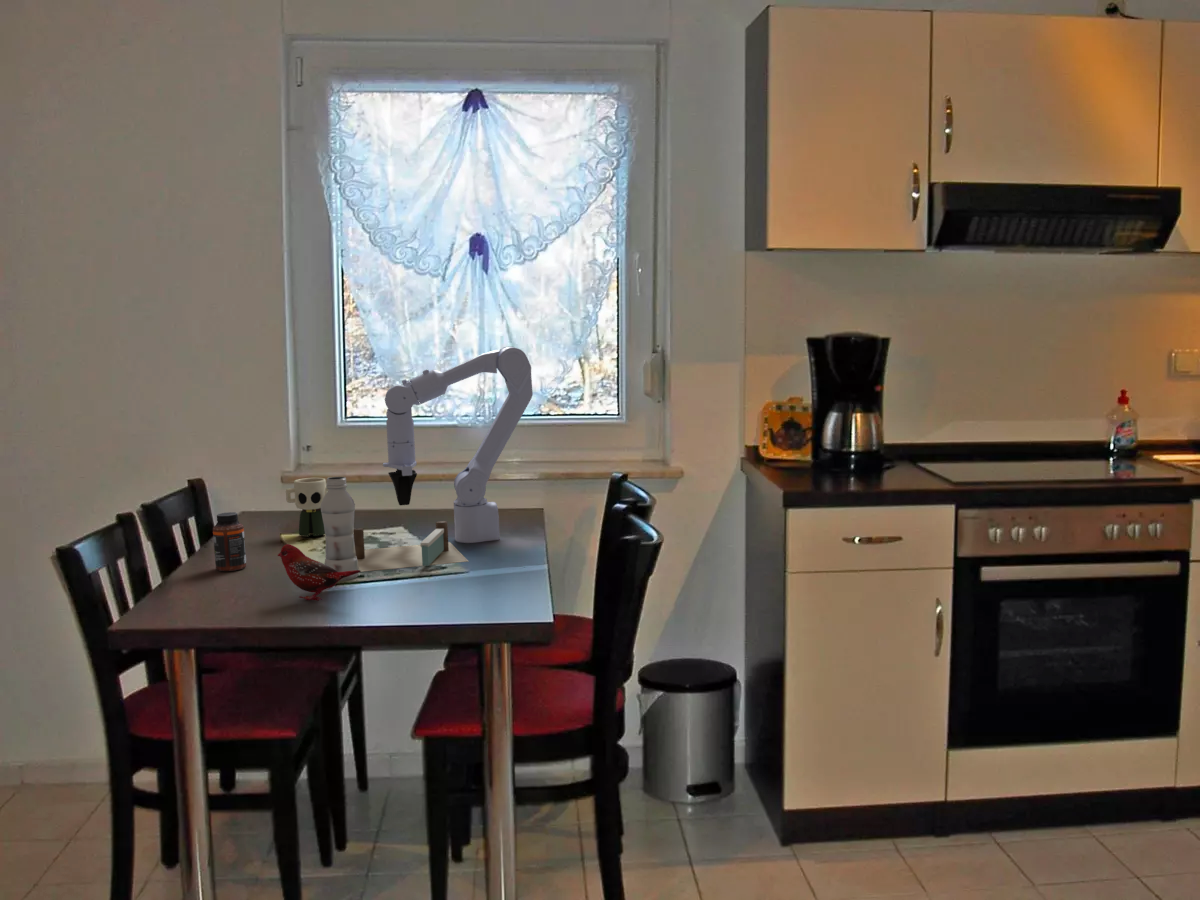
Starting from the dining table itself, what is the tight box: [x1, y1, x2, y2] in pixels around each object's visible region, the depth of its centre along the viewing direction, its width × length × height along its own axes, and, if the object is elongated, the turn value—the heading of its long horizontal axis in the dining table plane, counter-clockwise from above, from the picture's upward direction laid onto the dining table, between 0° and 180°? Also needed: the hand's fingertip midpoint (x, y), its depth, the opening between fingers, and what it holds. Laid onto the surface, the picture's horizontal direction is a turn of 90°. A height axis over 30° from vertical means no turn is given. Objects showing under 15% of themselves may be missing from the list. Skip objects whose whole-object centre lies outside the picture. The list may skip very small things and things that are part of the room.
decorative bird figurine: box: [277, 543, 362, 601], centre depth 203 cm, size 3×18×10 cm, turn 67°
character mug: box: [285, 477, 328, 537], centre depth 261 cm, size 11×7×13 cm, turn 97°
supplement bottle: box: [212, 511, 247, 572], centre depth 230 cm, size 6×6×11 cm
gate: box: [419, 528, 444, 567], centre depth 229 cm, size 14×2×4 cm, turn 175°
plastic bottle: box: [321, 476, 359, 582], centre depth 216 cm, size 6×7×20 cm
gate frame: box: [353, 520, 469, 573], centre depth 233 cm, size 22×20×7 cm
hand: (404, 504), depth 245 cm, fingers closed
